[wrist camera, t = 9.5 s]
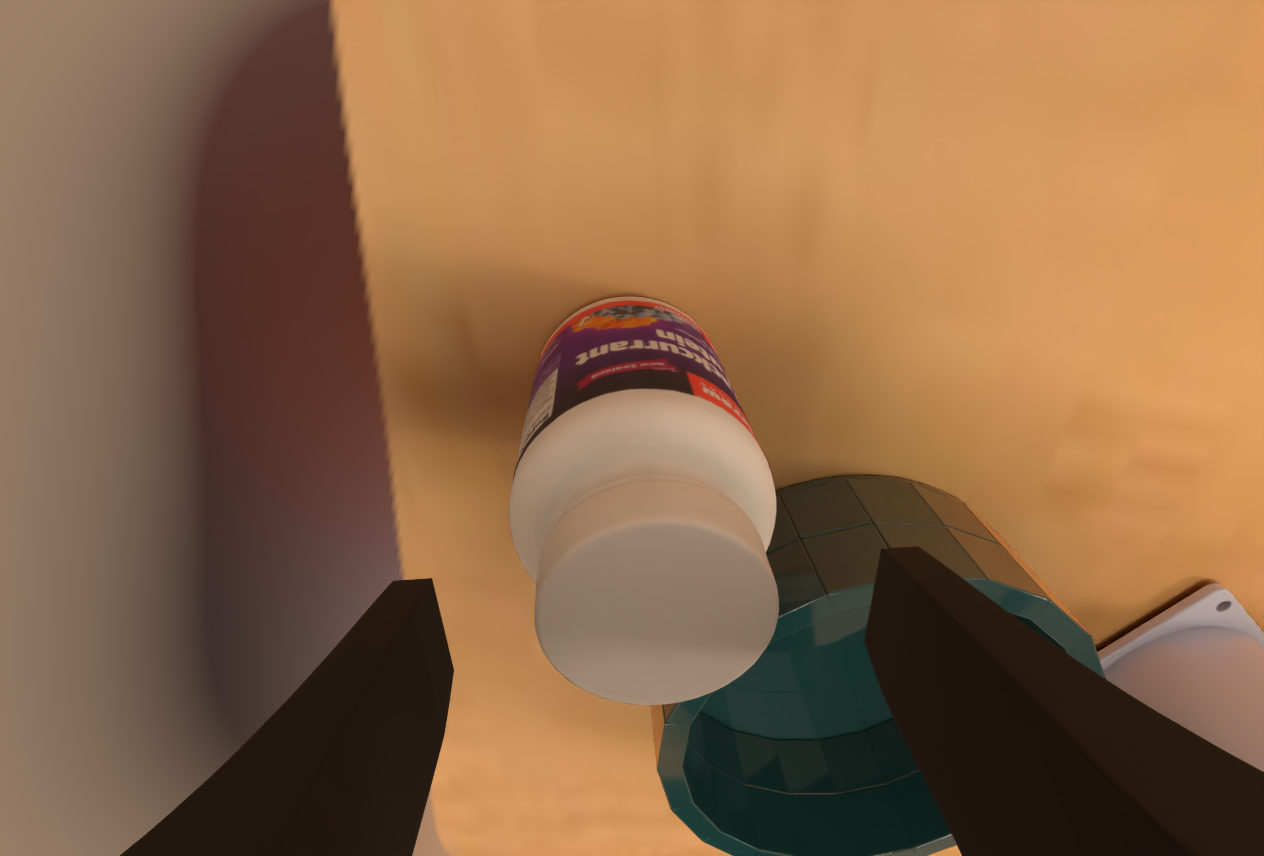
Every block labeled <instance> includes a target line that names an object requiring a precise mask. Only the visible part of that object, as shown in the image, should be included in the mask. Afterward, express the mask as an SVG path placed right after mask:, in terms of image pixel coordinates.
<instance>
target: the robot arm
mask: <svg viewBox="0 0 1264 856" xmlns="http://www.w3.org/2000/svg"><path fill="white" fill-rule="evenodd" d="M864 643H865V645H866V648H867V651H868V654H869V657H870V660H871V663H872V666H873V669H874V672H875V675H876V677H877V680H878V683H879V685H880V688H881V691H882V694H883V696H884V699H885V701H886V704H887V706H888V708H889V710H890V712H891V714H892V716H893V718H894V720H895V722H896V724H897V726H898V728H899V730H900V732H901V734H902V736H903V738H904V740H905V742H906V744H907V746H908V748H909V750H910V752H911V754H912V756H913V758H914V760H915V762H916V764H917V766H918V768H919V770H920V772H921V774H922V776H923V778H924V780H925V782H926V784H927V786H928V788H929V790H930V792H931V794H932V796H933V798H934V800H935V802H936V804H937V806H938V808H939V810H940V812H941V814H942V816H943V818H944V820H945V822H946V824H947V826H948V828H949V830H950V832H951V834H952V836H953V838H954V840H955V842H956V844H957V846H958V848H959V850H960V852H961V855H962V856H1264V633H1263V631H1262V630H1261V629H1260V628H1259V626H1258V625H1257V624H1256V623H1255V622H1254V620H1253V619H1252V618H1251V617H1250V615H1249V614H1248V613H1247V612H1246V610H1245V609H1244V608H1243V607H1242V605H1241V604H1240V603H1239V602H1238V600H1237V599H1236V598H1235V597H1234V596H1233V594H1232V593H1231V592H1230V591H1229V590H1228V589H1227V588H1225V587H1224V586H1223V585H1221V584H1218V583H1213V584H1208V585H1206V586H1204V587H1203V588H1201V589H1199V590H1198V591H1196V592H1194V593H1193V594H1191V595H1190V596H1188V597H1186V598H1185V599H1183V600H1181V601H1180V602H1178V603H1177V604H1175V605H1173V606H1172V607H1170V608H1168V609H1167V610H1165V611H1163V612H1162V613H1160V614H1159V615H1157V616H1155V617H1154V618H1152V619H1150V620H1149V621H1147V622H1146V623H1144V624H1142V625H1141V626H1139V627H1137V628H1136V629H1134V630H1133V631H1131V632H1129V633H1128V634H1126V635H1124V636H1123V637H1121V638H1120V639H1118V640H1116V641H1115V642H1113V643H1111V644H1110V645H1108V646H1107V647H1105V648H1103V649H1102V650H1100V651H1098V652H1097V653H1098V656H1099V659H1100V662H1101V665H1102V668H1103V671H1104V674H1105V677H1106V679H1105V678H1103V677H1102V676H1100V675H1099V674H1097V673H1096V672H1094V671H1093V670H1091V669H1090V668H1088V667H1086V666H1085V665H1083V664H1082V663H1080V662H1079V661H1077V660H1076V659H1074V658H1073V657H1071V656H1070V655H1069V654H1067V653H1066V652H1064V651H1063V650H1061V649H1060V648H1058V647H1057V646H1055V645H1054V644H1052V643H1051V642H1050V641H1048V640H1047V639H1045V638H1044V637H1043V636H1041V635H1040V634H1038V633H1037V632H1035V631H1034V630H1033V629H1031V628H1030V627H1028V626H1027V625H1026V624H1024V623H1023V622H1021V621H1020V620H1019V619H1017V618H1016V617H1014V616H1013V615H1012V614H1010V613H1009V612H1008V611H1006V610H1005V609H1004V608H1002V607H1001V606H999V605H998V604H997V603H995V602H994V601H993V600H991V599H990V598H989V597H987V596H986V595H985V594H983V593H982V592H981V591H979V590H978V589H976V588H975V587H974V586H972V585H971V584H970V583H968V582H967V581H966V580H964V579H963V578H962V577H960V576H959V575H958V574H956V573H955V572H954V571H952V570H951V569H950V568H948V567H947V566H945V565H944V564H943V563H941V562H940V561H939V560H937V559H936V558H934V557H933V556H932V555H930V554H929V553H927V552H926V551H924V550H923V549H922V548H920V547H919V546H915V547H900V548H885V549H881V552H880V557H879V562H878V568H877V573H876V579H875V584H874V590H873V595H872V600H871V606H870V611H869V617H868V622H867V627H866V633H865V638H864ZM453 673H454V668H453V664H452V660H451V656H450V652H449V648H448V643H447V639H446V635H445V631H444V627H443V622H442V618H441V614H440V610H439V606H438V602H437V597H436V593H435V589H434V585H433V581H432V578H430V579H415V580H399V581H393V582H392V583H391V584H390V585H389V586H388V587H387V588H386V589H385V590H384V592H383V593H382V594H381V595H380V596H379V597H378V598H377V600H376V601H375V602H374V603H373V604H372V605H371V606H370V608H369V609H368V610H367V611H366V612H365V613H364V614H363V616H362V617H361V618H360V619H359V620H358V622H357V623H356V624H355V625H354V626H353V627H352V629H351V630H350V631H349V632H348V633H347V634H346V635H345V637H344V638H343V639H342V640H341V641H340V642H339V643H338V645H337V646H336V647H335V648H334V649H333V650H332V652H331V653H330V654H329V655H328V656H327V657H326V658H325V659H324V660H323V661H322V663H321V664H320V665H319V666H318V667H317V668H316V669H315V670H314V671H313V672H312V674H311V675H310V676H309V677H308V678H307V679H306V680H305V681H304V682H303V683H302V685H301V686H300V687H299V688H298V689H297V690H296V691H295V692H294V693H293V694H292V696H291V697H290V698H289V699H288V700H287V701H286V702H285V703H284V704H283V705H282V706H281V707H280V708H279V709H278V710H277V711H276V712H275V713H274V714H273V715H272V716H271V717H270V718H269V719H268V720H267V721H266V722H265V723H264V724H263V725H262V726H261V728H260V729H259V730H258V731H257V732H256V733H255V734H254V735H253V736H252V737H251V738H250V739H249V740H248V741H247V742H246V743H245V744H244V745H243V746H242V747H241V748H240V749H239V750H238V751H237V752H236V753H235V754H234V755H233V756H232V757H231V758H230V759H229V760H228V761H227V762H225V763H224V764H223V765H222V766H221V767H220V768H219V769H218V770H217V771H216V772H215V773H214V774H213V775H212V776H211V777H210V778H209V779H208V780H207V781H205V782H204V783H203V784H202V785H201V786H200V787H199V788H198V789H197V790H196V791H194V792H193V794H191V795H190V796H189V797H188V798H187V799H186V800H184V801H183V802H182V803H181V804H180V805H179V806H178V807H177V808H176V809H174V811H172V812H171V813H170V814H169V815H168V816H166V817H165V818H164V819H163V820H162V821H161V822H160V823H158V824H157V825H156V826H155V827H154V828H153V829H152V830H150V831H149V832H148V833H147V834H146V835H145V836H143V837H142V838H141V839H140V840H138V841H137V842H136V843H135V844H133V845H132V846H131V847H130V848H129V849H127V850H126V851H125V852H124V853H122V854H121V855H120V856H412V854H413V850H414V846H415V843H416V839H417V836H418V832H419V828H420V825H421V821H422V817H423V813H424V809H425V806H426V802H427V799H428V795H429V791H430V788H431V784H432V780H433V776H434V772H435V769H436V765H437V761H438V757H439V753H440V750H441V746H442V742H443V738H444V734H445V728H446V721H447V715H448V709H449V702H450V695H451V687H452V680H453Z"/></svg>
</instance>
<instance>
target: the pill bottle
mask: <svg viewBox="0 0 1264 856" xmlns="http://www.w3.org/2000/svg"><path fill="white" fill-rule="evenodd" d="M775 518H776V493H775V487H774V482H773V478H772V474H771V471H770V469H769V466H768V461H767V459H766V457H765V455H764V453H763V451H762V449H761V446H760V445H759V443H758V441H757V439H756V437H755V435H754V433H753V431H752V429H751V426H750V424H749V422H748V420H747V418H746V416H745V414H744V412H743V409H742V407H741V404H740V402H739V401H738V398H737V396H736V394H735V392H734V390H733V388H732V386H731V383H730V381H729V379H728V377H727V375H726V372H725V370H724V368H723V365H722V363H721V361H720V358H719V356H718V354H717V352H716V350H715V348H714V347H713V345H712V343H711V341H710V340H709V338H708V337H707V335H706V334H705V333H704V331H703V330H702V329H701V328H700V326H699V325H698V324H697V323H696V322H695V321H693V320H692V319H691V318H690V317H689V316H688V315H686V314H685V313H683V312H682V311H680V310H678V309H677V308H675V307H673V306H671V305H669V304H667V303H664V302H661V301H658V300H654V299H650V298H644V297H632V296H629V297H615V298H609V299H605V300H601V301H598V302H595V303H592V304H590V305H588V306H586V307H584V308H582V309H580V310H579V311H577V312H575V313H574V314H572V315H571V316H570V317H568V318H567V319H566V320H565V321H564V322H563V323H562V324H561V325H560V326H559V327H558V328H557V329H556V330H555V332H554V333H553V334H552V335H551V337H550V338H549V340H548V342H547V343H546V345H545V347H544V349H543V351H542V354H541V356H540V359H539V362H538V365H537V368H536V372H535V377H534V382H533V386H532V391H531V396H530V401H529V405H528V410H527V414H526V419H525V424H524V428H523V432H522V437H521V442H520V447H519V452H518V458H517V462H516V467H515V471H514V476H513V482H512V489H511V496H510V506H509V521H510V530H511V535H512V539H513V542H514V545H515V548H516V551H517V554H518V556H519V558H520V560H521V562H522V564H523V566H524V567H525V569H526V570H527V572H528V573H529V574H530V576H531V577H532V579H533V580H534V581H535V582H536V583H537V584H536V600H535V629H536V633H537V637H538V640H539V643H540V645H541V648H542V650H543V652H544V653H545V655H546V657H547V658H548V660H549V661H550V663H551V664H552V665H553V666H554V667H555V669H556V670H557V671H558V672H560V673H561V674H562V675H563V676H564V677H565V678H566V679H567V680H569V681H570V682H571V683H573V684H575V685H576V686H578V687H579V688H581V689H583V690H585V691H587V692H589V693H591V694H594V695H596V696H598V697H601V698H604V699H607V700H611V701H616V702H621V703H626V704H635V705H662V704H671V703H677V702H683V701H687V700H691V699H695V698H698V697H701V696H703V695H706V694H708V693H711V692H713V691H716V690H718V689H720V688H722V687H724V686H726V685H727V684H729V683H730V682H732V681H733V680H735V679H736V678H738V677H739V676H741V675H742V674H743V673H744V672H745V671H747V670H748V669H749V668H750V667H751V666H752V665H753V664H754V663H755V662H756V661H757V660H758V658H759V657H760V656H761V654H762V653H763V651H764V650H765V649H766V648H767V646H768V644H769V642H770V641H771V638H772V636H773V634H774V632H775V628H776V624H777V620H778V614H779V597H778V590H777V585H776V582H775V579H774V576H773V573H772V570H771V567H770V564H769V562H768V559H767V556H766V551H767V549H768V546H769V544H770V541H771V537H772V534H773V530H774V526H775Z"/></svg>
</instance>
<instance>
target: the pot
mask: <svg viewBox="0 0 1264 856" xmlns="http://www.w3.org/2000/svg"><path fill="white" fill-rule="evenodd" d="M775 493H776V518H775V526H774V530H773V534H772V537H771V541H770V544H769V546H768V549H767V551H766V556H767V559H768V562H769V564H770V567H771V570H772V573H773V576H774V579H775V582H776V585H777V590H778V597H779V614H778V620H777V624H776V628H775V632H774V634H773V636H772V638H771V641H770V642H769V644H768V646H767V648H766V649H765V650H764V651H763V653H762V654H761V656H760V657H759V658H758V660H757V661H756V662H755V663H754V664H753V665H752V666H751V667H750V668H749V669H748V670H747V671H745V672H744V673H743V674H742V675H741V676H739V677H738V678H736V679H735V680H733V681H732V682H730V683H729V684H727V685H726V686H724V687H722V688H720V689H718V690H716V691H713V692H711V693H708V694H706V695H703V696H701V697H698V698H695V699H691V700H687V701H683V702H677V703H671V704H662V705H651V714H652V724H653V734H654V745H655V755H656V765H657V771H658V774H659V777H660V780H661V783H662V786H663V789H664V792H665V795H666V798H667V801H668V803H669V806H670V809H671V810H672V812H673V813H674V814H675V815H676V816H677V817H678V818H679V819H680V820H681V821H682V822H683V823H684V824H685V825H686V826H687V827H688V828H689V829H690V830H691V831H692V832H693V833H694V834H695V835H696V836H698V837H699V838H700V839H701V840H702V841H703V842H704V843H707V844H709V845H711V846H713V847H715V848H717V849H720V850H722V851H724V852H726V853H728V854H730V855H732V856H928V855H931V854H933V853H936V852H939V851H942V850H944V849H947V848H950V847H953V846H955V845H957V844H956V842H955V840H954V838H953V836H952V834H951V832H950V830H949V828H948V826H947V824H946V822H945V820H944V818H943V816H942V814H941V812H940V810H939V808H938V806H937V804H936V802H935V800H934V798H933V796H932V794H931V792H930V790H929V788H928V786H927V784H926V782H925V780H924V778H923V776H922V774H921V772H920V770H919V768H918V766H917V764H916V762H915V760H914V758H913V756H912V754H911V752H910V750H909V748H908V746H907V744H906V742H905V740H904V738H903V736H902V734H901V732H900V730H899V728H898V726H897V724H896V722H895V720H894V718H893V716H892V714H891V712H890V710H889V708H888V706H887V704H886V701H885V699H884V696H883V694H882V691H881V688H880V685H879V683H878V680H877V677H876V675H875V672H874V669H873V666H872V663H871V660H870V657H869V654H868V651H867V648H866V645H865V643H864V638H865V633H866V627H867V622H868V617H869V611H870V606H871V600H872V595H873V590H874V584H875V579H876V573H877V568H878V562H879V557H880V552H881V549H885V548H900V547H915V546H919V547H920V548H922V549H923V550H924V551H926V552H927V553H929V554H930V555H932V556H933V557H934V558H936V559H937V560H939V561H940V562H941V563H943V564H944V565H945V566H947V567H948V568H950V569H951V570H952V571H954V572H955V573H956V574H958V575H959V576H960V577H962V578H963V579H964V580H966V581H967V582H968V583H970V584H971V585H972V586H974V587H975V588H976V589H978V590H979V591H981V592H982V593H983V594H985V595H986V596H987V597H989V598H990V599H991V600H993V601H994V602H995V603H997V604H998V605H999V606H1001V607H1002V608H1004V609H1005V610H1006V611H1008V612H1009V613H1010V614H1012V615H1013V616H1014V617H1016V618H1017V619H1019V620H1020V621H1021V622H1023V623H1024V624H1026V625H1027V626H1028V627H1030V628H1031V629H1033V630H1034V631H1035V632H1037V633H1038V634H1040V635H1041V636H1043V637H1044V638H1045V639H1047V640H1048V641H1050V642H1051V643H1052V644H1054V645H1055V646H1057V647H1058V648H1060V649H1061V650H1063V651H1064V652H1066V653H1067V654H1069V655H1070V656H1071V657H1073V658H1074V659H1076V660H1077V661H1079V662H1080V663H1082V664H1083V665H1085V666H1086V667H1088V668H1090V669H1091V670H1093V671H1094V672H1096V673H1097V674H1099V675H1100V676H1102V677H1103V678H1105V679H1106V677H1105V674H1104V671H1103V668H1102V665H1101V662H1100V659H1099V656H1098V653H1097V650H1096V648H1095V645H1094V642H1093V639H1092V636H1091V635H1090V634H1089V632H1088V631H1087V630H1086V629H1085V628H1084V627H1083V626H1082V624H1081V623H1080V622H1079V621H1078V620H1077V619H1076V618H1075V617H1074V616H1073V615H1072V614H1071V613H1070V611H1069V610H1068V609H1067V608H1066V607H1065V606H1064V605H1063V604H1062V603H1061V602H1060V601H1059V599H1058V598H1057V597H1056V596H1055V595H1054V594H1053V593H1052V592H1051V591H1050V590H1049V589H1048V587H1047V586H1046V585H1045V584H1044V583H1043V582H1042V581H1041V580H1040V579H1039V578H1038V577H1037V576H1036V574H1035V573H1034V572H1033V571H1032V570H1031V569H1030V568H1029V567H1028V566H1027V565H1026V564H1025V562H1024V561H1023V560H1022V559H1021V558H1020V557H1019V556H1018V555H1017V554H1016V553H1015V552H1014V550H1013V549H1012V548H1011V547H1010V546H1009V545H1008V544H1007V543H1006V542H1005V541H1004V540H1003V538H1002V537H1001V536H1000V535H999V534H998V533H997V532H996V531H995V530H994V529H992V528H991V527H990V526H989V525H988V524H987V523H986V522H985V521H984V520H983V519H982V518H981V517H980V516H979V515H978V514H977V513H975V512H974V511H973V510H972V509H971V508H969V507H968V506H967V505H966V504H964V503H963V502H961V501H960V500H958V499H956V498H954V497H953V496H951V495H949V494H947V493H946V492H944V491H941V490H938V489H936V488H933V487H931V486H928V485H925V484H923V483H919V482H914V481H910V480H906V479H901V478H895V477H885V476H876V475H855V476H840V477H832V478H824V479H818V480H813V481H809V482H805V483H801V484H796V485H792V486H790V487H787V488H784V489H781V490H778V491H775Z"/></svg>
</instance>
